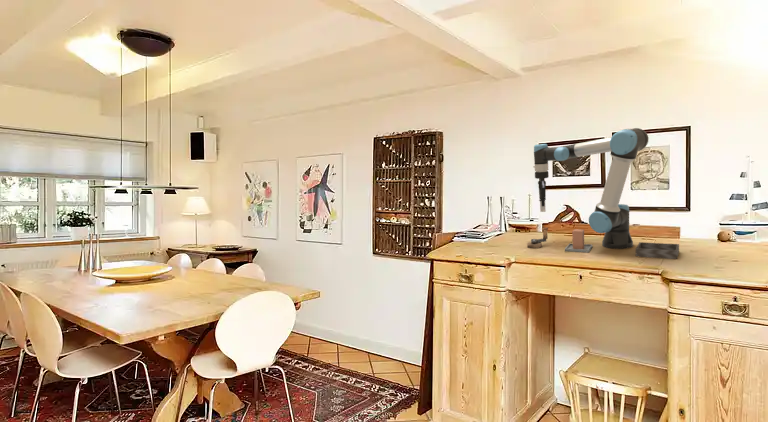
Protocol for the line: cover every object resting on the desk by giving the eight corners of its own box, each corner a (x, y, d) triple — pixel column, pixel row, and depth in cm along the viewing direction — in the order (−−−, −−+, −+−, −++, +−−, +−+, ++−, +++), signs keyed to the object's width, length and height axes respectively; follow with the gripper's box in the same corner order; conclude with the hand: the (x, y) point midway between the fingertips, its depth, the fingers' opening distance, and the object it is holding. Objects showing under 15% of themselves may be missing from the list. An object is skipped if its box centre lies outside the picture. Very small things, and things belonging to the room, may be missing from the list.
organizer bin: (679, 252, 240) (679, 244, 240) (677, 259, 229) (677, 250, 229) (639, 249, 250) (639, 242, 250) (635, 256, 239) (635, 248, 239)
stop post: (584, 247, 262) (584, 229, 261) (582, 249, 258) (582, 231, 256) (574, 246, 265) (574, 229, 263) (572, 249, 261) (572, 231, 259)
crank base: (525, 247, 274) (525, 244, 274) (529, 244, 280) (529, 241, 280) (539, 248, 270) (539, 245, 269) (543, 245, 276) (543, 241, 276)
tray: (592, 247, 263) (592, 244, 263) (588, 252, 253) (588, 249, 253) (569, 246, 270) (569, 243, 270) (564, 251, 260) (564, 248, 260)
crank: (533, 243, 273) (532, 230, 271) (529, 242, 276) (529, 229, 275) (549, 241, 275) (549, 228, 273) (546, 240, 278) (545, 227, 277)
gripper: (533, 170, 283) (534, 210, 287) (536, 172, 271) (537, 213, 274) (546, 169, 282) (548, 209, 286) (550, 171, 269) (551, 213, 273)
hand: (542, 211), depth 280 cm, fingers closed
